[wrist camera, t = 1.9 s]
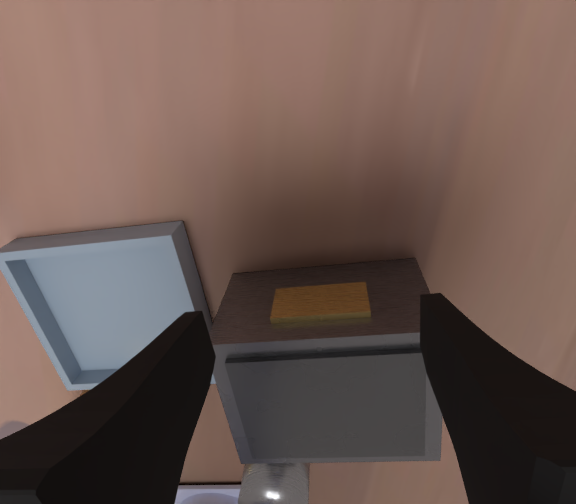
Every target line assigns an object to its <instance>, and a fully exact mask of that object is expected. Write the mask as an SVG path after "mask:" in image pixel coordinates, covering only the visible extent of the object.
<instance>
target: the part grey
mask: <svg viewBox="0 0 576 504" xmlns="http://www.w3.org/2000/svg"><path fill="white" fill-rule="evenodd" d="M309 469H310V463H265V464H245V467H244V472H243V477H242V482H241V488H240V493H239V498H238V504H308V496H309Z"/></svg>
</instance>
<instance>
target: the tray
mask: <svg viewBox="0 0 576 504" xmlns="http://www.w3.org/2000/svg"><path fill="white" fill-rule="evenodd" d="M0 269H1V271H2V273H3V275H4V277H5V278H6V280H7V282H8V284H9V286H10V287H11V289H12V291H13V293H14V295H15V296H16V298H17V300H18V302H19V304H20V305H21V307H22V309H23V311H24V313H25V314H26V316H27V318H28V320H29V322H30V324H31V325H32V327H33V329H34V331H35V333H36V334H37V336H38V338H39V340H40V342H41V343H42V345H43V347H44V349H45V351H46V352H47V354H48V356H49V358H50V360H51V361H52V363H53V365H54V367H55V369H56V371H57V372H58V374H59V376H60V378H61V380H62V381H63V383H64V385H65V387H66V389H67V390H68V391H69V390H90V389H92V388H94V387H95V386H96V385H98V384H99V383H101V382H102V381H104V380H105V379H106V378H108V377H109V376H110V375H112V374H113V373H114V372H116V371H117V370H118V369H120V368H121V367H122V366H123V365H124V364H126V363H127V362H128V361H129V360H131V359H132V358H133V357H134V356H135V355H137V354H138V353H139V352H140V351H141V350H143V349H144V348H145V347H146V346H147V345H148V344H149V343H151V342H152V341H153V340H154V339H155V338H156V337H157V336H158V335H159V334H161V333H162V332H163V331H164V330H165V329H166V328H167V327H168V326H169V325H170V324H172V323H173V322H174V321H175V320H176V319H177V318H178V317H180V316H181V315H182V314H183V313H185V312H191V311H202V312H203V315H204V319H205V322H206V325H207V329H208V332H210V330H211V327H212V325H213V323H212V320H211V316H210V313H209V309H208V306H207V303H206V299H205V296H204V292H203V289H202V285H201V282H200V279H199V275H198V272H197V268H196V265H195V261H194V258H193V255H192V251H191V248H190V244H189V241H188V237H187V234H186V231H185V227H184V224H183V221H175V222H166V223H157V224H148V225H138V226H129V227H120V228H111V229H102V230H92V231H83V232H74V233H65V234H55V235H46V236H37V237H28V238H19V239H14V240H13V241H11V242H10V243H8V244H7V245H5V246H3V247H2V248H0ZM211 384H216V382H215V379H214V375H212V379H211Z"/></svg>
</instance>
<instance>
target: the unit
mask: <svg viewBox="0 0 576 504" xmlns="http://www.w3.org/2000/svg"><path fill="white" fill-rule="evenodd" d="M421 294H430V291H429V289H428V287H427V284H426V282H425V280H424V277H423V275H422V272H421V270H420V268H419V265H418V263H417V260H416V258H409V259H398V260H386V261H375V262H363V263H352V264H340V265H329V266H317V267H306V268H294V269H283V270H271V271H260V272H248V273H237V274H233V275H232V277H231V280H230V282H229V285H228V287H227V290H226V292H225V295H224V297H223V300H222V302H221V305H220V307H219V310H218V312H217V315H216V317H215V320H214V322H213V325H212V327H211V330H210V332H209V335H210V339H211V342H212V345H213V349H214V352H215V355H216V359H215V364H214V370H213V375H214V379H215V382H216V385H217V388H218V391H219V394H220V398H221V401H222V404H223V407H224V410H225V414H226V417H227V420H228V423H229V426H230V430H231V433H232V436H233V439H234V442H235V445H236V449H237V452H238V455H239V458H240V461H241V464H265V463H325V462H386V461H440V458H441V435H442V413H441V411H440V408H439V405H438V403H437V400H436V397H435V395H434V392H433V389H432V387H431V384H430V381H429V378H428V376H427V373H426V369H425V365H424V360H423V356H422V352H421V347H420V295H421Z"/></svg>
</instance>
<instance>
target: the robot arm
mask: <svg viewBox="0 0 576 504" xmlns="http://www.w3.org/2000/svg"><path fill="white" fill-rule="evenodd" d="M420 347H421V352H422V356H423V360H424V365H425V369H426V373H427V376H428V378H429V381H430V384H431V387H432V389H433V392H434V395H435V397H436V400H437V403H438V405H439V408H440V411H441V413H442V416H443V419H444V421H445V424H446V426H447V429H448V432H449V434H450V437H451V440H452V443H453V446H454V449H455V452H456V456H457V459H458V463H459V467H460V471H461V474H462V478H463V482H464V486H465V490H466V493H467V497H468V501H469V504H576V391H574V390H572V389H570V388H568V387H567V386H565V385H563V384H561V383H559V382H557V381H555V380H554V379H552V378H550V377H548V376H547V375H545V374H543V373H542V372H540V371H538V370H537V369H535V368H534V367H532V366H530V365H529V364H527V363H526V362H524V361H523V360H521V359H519V358H518V357H516V356H515V355H514V354H512V353H511V352H509V351H508V350H507V349H505V348H504V347H503V346H501V345H500V344H498V343H497V342H496V341H494V340H493V339H492V338H491V337H489V336H488V335H487V334H486V333H485V332H483V331H482V330H481V329H480V328H479V327H477V326H476V325H475V324H474V323H473V322H472V321H470V320H469V319H468V318H467V317H466V316H465V315H464V314H463V313H462V312H460V311H459V310H458V309H457V308H456V307H455V306H454V305H453V304H452V303H451V302H450V301H449V300H448V299H447V298H445V297H444V296H443V295H442V294H441V293H435V294H421V295H420ZM215 359H216V355H215V352H214V349H213V345H212V342H211V339H210V335H209V332H208V329H207V325H206V322H205V319H204V315H203V312H202V311H191V312H185V313H183V314H182V315H181V316H180V317H178V318H177V319H176V320H175V321H174V322H173V323H172V324H170V325H169V326H168V327H167V328H166V329H165V330H164V331H163V332H162V333H161V334H159V335H158V336H157V337H156V338H155V339H154V340H153V341H152V342H151V343H149V344H148V345H147V346H146V347H145V348H144V349H143V350H141V351H140V352H139V353H138V354H137V355H135V356H134V357H133V358H132V359H131V360H129V361H128V362H127V363H126V364H124V365H123V366H122V367H121V368H120V369H118V370H117V371H116V372H114V373H113V374H112V375H110V376H109V377H108V378H106V379H105V380H104V381H102V382H101V383H99V384H98V385H96V386H95V387H94V388H92V389H91V390H89V391H88V392H86V393H85V394H83V395H81V396H80V397H78V398H77V399H75V400H73V401H72V402H70V403H68V404H67V405H65V406H63V407H62V408H60V409H59V410H57V411H55V412H53V413H52V414H50V415H48V416H46V417H44V418H43V419H41V420H39V421H37V422H35V423H33V424H31V425H29V426H27V427H26V428H24V429H21V430H20V431H17V432H15V433H13V434H11V435H10V436H7V437H5V438H3V439H1V440H0V504H238V498H239V493H240V488H241V485H179V482H180V478H181V474H182V469H183V465H184V461H185V457H186V454H187V451H188V447H189V444H190V441H191V438H192V436H193V433H194V430H195V427H196V424H197V421H198V419H199V416H200V413H201V410H202V407H203V404H204V401H205V399H206V396H207V393H208V390H209V387H210V384H211V379H212V375H213V370H214V364H215Z"/></svg>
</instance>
